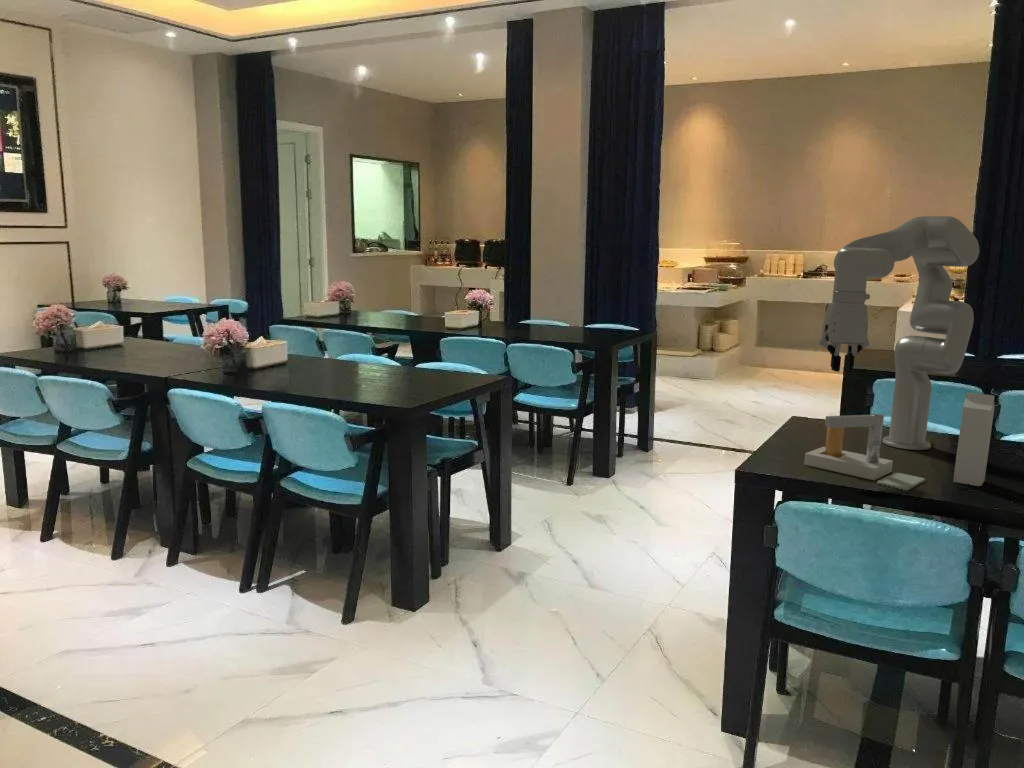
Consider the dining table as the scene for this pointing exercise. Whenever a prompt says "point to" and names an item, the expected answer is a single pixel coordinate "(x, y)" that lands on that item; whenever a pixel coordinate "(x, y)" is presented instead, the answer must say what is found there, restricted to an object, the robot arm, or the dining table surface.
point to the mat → (901, 481)
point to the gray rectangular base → (849, 464)
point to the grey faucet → (862, 421)
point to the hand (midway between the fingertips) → (841, 370)
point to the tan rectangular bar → (834, 442)
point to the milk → (974, 439)
